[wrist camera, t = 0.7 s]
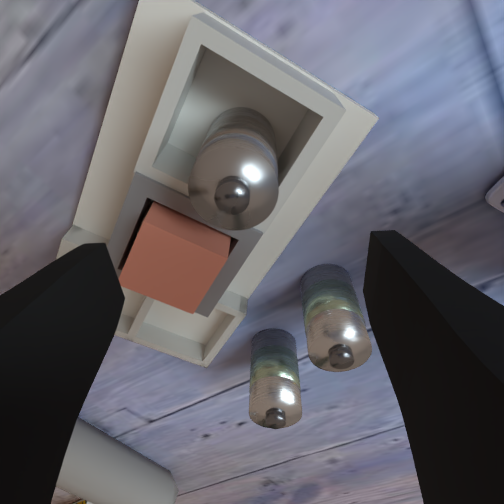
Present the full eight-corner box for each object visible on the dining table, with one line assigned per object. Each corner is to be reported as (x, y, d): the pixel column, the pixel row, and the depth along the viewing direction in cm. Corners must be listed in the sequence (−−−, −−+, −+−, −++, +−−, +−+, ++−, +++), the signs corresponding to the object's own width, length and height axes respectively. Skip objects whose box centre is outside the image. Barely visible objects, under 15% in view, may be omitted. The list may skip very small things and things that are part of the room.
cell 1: (304, 338, 26) (314, 417, 21) (281, 364, 28) (284, 443, 23) (265, 322, 25) (265, 401, 20) (243, 349, 27) (238, 428, 22)
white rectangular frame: (374, 113, 17) (400, 141, 14) (210, 343, 27) (203, 392, 23) (152, -26, 14) (119, -33, 11) (57, 285, 24) (24, 331, 21)
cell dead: (272, 102, 16) (275, 146, 11) (278, 170, 18) (283, 235, 13) (201, 111, 17) (173, 158, 12) (214, 177, 18) (195, 243, 13)
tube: (190, 514, 35) (-65, 382, 24) (148, 546, 36) (-123, 430, 24) (185, 464, 40) (-29, 333, 28) (148, 492, 40) (-78, 374, 29)
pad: (232, 223, 18) (227, 258, 16) (201, 275, 20) (192, 314, 18) (160, 188, 17) (143, 221, 15) (135, 247, 19) (116, 284, 17)
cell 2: (362, 276, 23) (389, 353, 18) (331, 309, 24) (348, 388, 20) (318, 255, 22) (334, 330, 17) (290, 291, 24) (296, 368, 19)
